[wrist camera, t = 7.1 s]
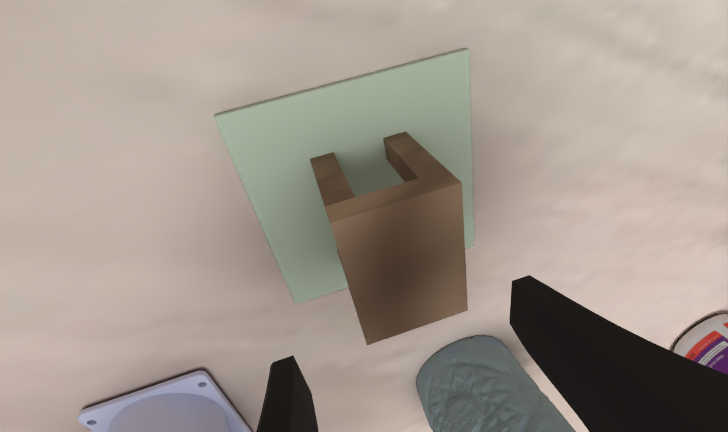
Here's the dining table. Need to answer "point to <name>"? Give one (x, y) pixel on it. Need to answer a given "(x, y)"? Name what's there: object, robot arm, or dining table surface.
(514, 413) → the green plant pot
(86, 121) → the dining table surface
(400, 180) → the mat
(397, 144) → the stool
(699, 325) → the pill bottle
